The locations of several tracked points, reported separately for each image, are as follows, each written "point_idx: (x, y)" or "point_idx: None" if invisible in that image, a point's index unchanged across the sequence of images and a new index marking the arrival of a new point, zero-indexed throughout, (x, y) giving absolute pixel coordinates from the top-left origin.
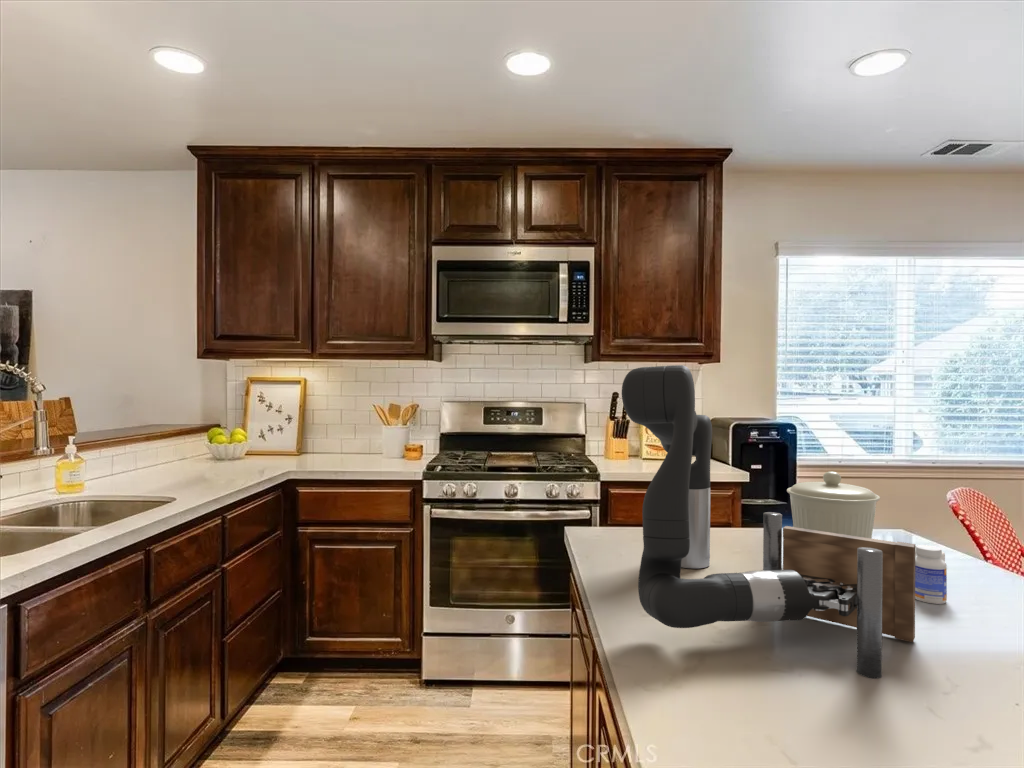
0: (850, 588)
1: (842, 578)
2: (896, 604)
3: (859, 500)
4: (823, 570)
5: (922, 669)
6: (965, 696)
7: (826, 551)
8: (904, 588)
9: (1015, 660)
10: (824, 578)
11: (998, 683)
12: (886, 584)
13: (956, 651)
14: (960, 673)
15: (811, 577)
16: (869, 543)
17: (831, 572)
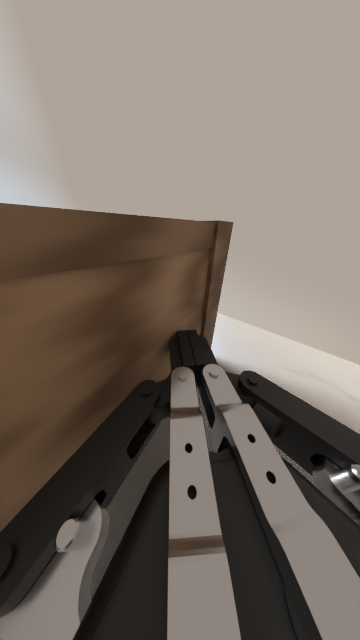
0: (225, 375)
1: (139, 353)
2: (205, 330)
3: None
4: (84, 375)
5: (282, 384)
6: (342, 381)
7: (65, 309)
8: (214, 303)
9: (221, 314)
10: (126, 405)
11: (277, 340)
12: (196, 311)
13: (214, 333)
14: (270, 354)
15: (92, 469)
16: (182, 228)
17: (110, 361)
